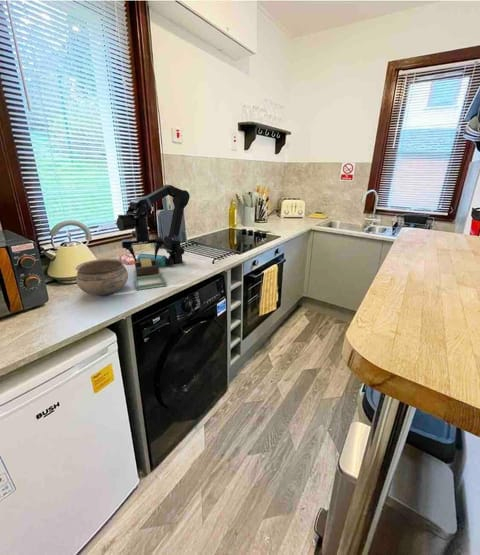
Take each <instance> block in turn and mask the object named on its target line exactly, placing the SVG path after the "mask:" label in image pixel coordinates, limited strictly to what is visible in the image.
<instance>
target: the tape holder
mask: <svg viewBox="0 0 480 555" xmlns="http://www.w3.org/2000/svg"><path fill="white" fill-rule="evenodd" d="M151 264H152V266H148V267H141V262H137V261H135V262H134V268H135V272H136V273H135V274H136V277H141V276H149V275H156V274H160V271H159V266H158V265H157V266H156V260H151Z"/></svg>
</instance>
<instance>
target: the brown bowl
mask: <svg viewBox="0 0 480 555" xmlns="http://www.w3.org/2000/svg"><path fill="white" fill-rule="evenodd" d="M75 270H76V271H77V273H76V278H75V279H76V284H77V287H78V288H79V289H80V290H81V291H82V292H84V293H87V294H90V295H94V296H99V297H107V296H111V295H113V294H114V293H116V292H117V291H119V290H121V289H122V288H123V287H124V286H125V285H126V284H127V282H128V280H129V272H128V270H127V267H125V261H124V260H122V259H120V258H99V259H93V260H89V261H85V262H82V263H80V264H78V265H77V266H76V267H75Z"/></svg>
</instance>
